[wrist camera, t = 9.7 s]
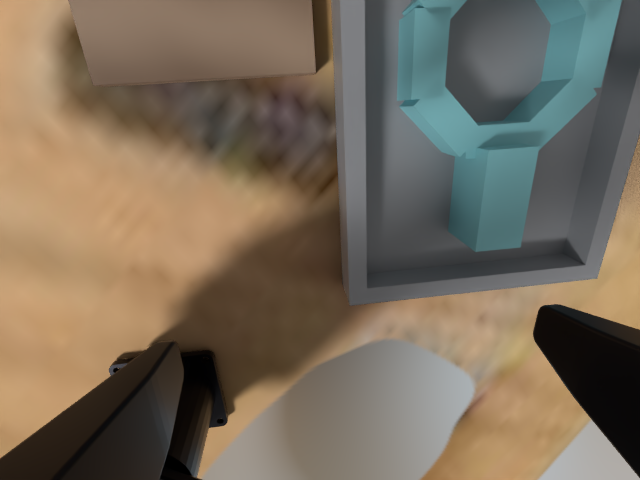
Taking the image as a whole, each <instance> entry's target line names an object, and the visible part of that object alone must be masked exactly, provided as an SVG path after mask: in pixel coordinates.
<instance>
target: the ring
mask: <svg viewBox="0 0 640 480" xmlns="http://www.w3.org/2000/svg"><path fill="white" fill-rule="evenodd" d="M466 1H467V0H412V1H411V3H410V4H409V5H408V6H407V7H406V9H405V10H404V11H403V12H402V14H403V15H404V17H403V18H402V19H400V20H399V43H398V81H397V101H401V100H404V102H403V103H402V104H401V105H400V106H399V107H400V108H401V109H402V110H403V111H404V112H405V114H406V115H407V116H408V117H409V118H410V119H411V120H412V121H413V122H414V123H415V124H416V125H417V126H418V128H419V129H420V130H421V131H422V132H423V133H424V134H425V135H426V136H427V137H428V138H429V139H430V140H431V141H432V143H433V144H434V145H435V146H436V147H437V148H438V149H439V150H440V151H441V152H443V153H446V154H448V155H452V156H455V162H454V173H453V184H452V194H451V205H450V216H449V226H448V232H449V233H451V234H452V235H453V236H455V237H456V238H457V239H459V240H460V241H461V242H463V243H464V244H466V245H467V246H468V247H470V248H471V249H472V250H474V251H475V252H480V251H490V250H500V249H510V248H520V247H521V242H522V237H523V232H524V226H525V221H526V216H527V210H528V205H529V200H530V194H531V189H532V183H533V178H534V173H535V167H536V162H537V157H538V151H539V150H540V149H541V148H542V147H543V146H544V145H545V144H546V143H547V142H548V141H549V140H550V139H551V138H552V137H553V136H554V135H555V134H557V133H558V132H559V131H560V130H561V129H562V128H563V127H564V126H565V125H566V124H567V123H568V122H569V121H570V120H571V119H572V118H573V117H574V116H575V115H576V114H577V113H578V112H579V111H580V110H581V109H582V108H583V107H584V106H585V105H586V104H588V103H589V102H590V101H591V100H592V99H593V98H594V97H595V96H596V95H597V93H596V92H595V90H594V89H593V88H600V87H601V85H602V81H603V77H604V73H605V69H606V65H607V60H608V56H609V52H610V48H611V44H612V40H613V35H614V31H615V27H616V23H617V19H618V15H619V10H620V6H621V2H622V0H535V1H536V3H537V4H538V6H539V7H540V9H541V10H542V12H543V13H544V15H545V16H546V18H547V19H548V21H549V22H550V24H551V27H550V33H549V38H548V44H547V50H546V55H545V61H544V67H543V73H542V78H541V82H540V83H539V84H538V85H537V86H536V87H535V88H534V89H533V90H532V91H531V92H530V93H529V94H528V95H527V96H526V97H525V98H524V100H523V101H522V102H521V103H520V104H519V105H518V106H517V107H516V108H515V109H514V110H513V111H512V112H511V113H510V114H509V115H508V116H507V117H506V118H505V119H504V120H503V121H491V122H477V123H476V122H475V121H474V120H473V119H472V118H471V116H470V115H469V114H468V113H467V112H466V111H465V109H464V108H463V107H462V106H461V105H460V103H459V102H458V101H457V100H456V99H455V98H454V96H453V95H452V94H451V93H450V92H449V90H448V89H447V88H446V87H445V79H446V66H447V53H448V40H449V27H450V19H451V18H452V17H453V16H454V15H455V13H456V12H457V11H458V10H459V9H460V8H461V6H462V5H463V4H464V3H465V2H466Z"/></svg>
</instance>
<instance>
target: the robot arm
mask: <svg viewBox="0 0 640 480" xmlns="http://www.w3.org/2000/svg"><path fill="white" fill-rule="evenodd" d="M533 337H534V340H535V342H536V344H537V345H538V347H539V348H540V350H541V351H542V352H543V354H544V355H545V357H546V358H547V360H548V361H549V363H550V364H551V365H552V367H553V368H554V370H555V371H556V373H557V374H558V376H559V377H560V379H561V380H562V381H563V383H564V384H565V386H566V387H567V389H568V390H569V391H570V393H571V394H572V395H573V397H574V398H575V399H576V401H577V402H578V403H579V404H580V406H581V407H582V408H583V409H584V411H585V412H586V413H587V414H588V416H589V417H590V418H591V419H592V420H593V422H594V423H595V424H596V425H597V426H598V428H599V429H600V430H601V431H602V433H603V434H604V435H605V436H606V437H607V439H608V440H609V441H610V442H611V443H612V445H613V446H614V447H615V448H616V450H617V451H618V452H619V453H620V454H621V456H622V457H623V458H624V459H625V461H626V462H627V463H628V464H629V465H630V467H631V468H632V469H633V470H634V472H635V473H636V474H637V475H638V476H639V478H640V330H639V329H635V328H632V327H629V326H626V325H623V324H620V323H616V322H613V321H610V320H607V319H604V318H601V317H597V316H594V315H591V314H588V313H585V312H582V311H578V310H575V309H572V308H569V307H566V306H563V305H558V304H554V305H544V306H542V307H541V308H540V309H539V311H538V314H537V318H536V322H535V327H534V331H533ZM204 357H207V358H208V359H204ZM118 368H120V369H118ZM109 372H110V375H111V376H110V377H109V378H108V379H106V380H105V381H104V382H102V383H101V384H100V385H98V386H97V387H96V388H94V389H93V390H91V391H90V392H89V393H87V394H86V395H85V396H83V397H82V398H81V399H79V400H78V401H77V402H75V403H74V404H73V405H71V406H70V407H69V408H67V409H66V410H65V411H63V412H62V413H61V414H59V415H58V416H57V417H55V418H54V419H53V420H51V421H50V422H48V423H47V424H46V425H44V426H43V427H42V428H40V429H39V430H38V431H36V432H35V433H34V434H32V435H31V436H30V437H28V438H27V439H26V440H24V441H23V442H22V443H20V444H19V445H18V446H16V447H15V448H14V449H12V450H11V451H10V452H8V453H7V454H5V455H4V456H3V457H1V458H0V480H202V479H199V478H197V475H198V471H199V467H200V463H201V458H202V454H203V450H204V446H205V441H206V437H207V433H208V429H209V428H211V427H219V426H224V425H225V424H226V423H227V421H228V412H227V408H226V404H225V399H224V395H223V391H222V386H221V382H220V378H219V373H218V369H217V365H216V360H215V356H214V354H213V352H211V351H209V350H202V351H193V352H185V353H180V351H179V346H178V344H177V342H176V341H174V340H170V341H160V342H156V343H155V344H153V345H152V346H151V347H149V348H148V349H147V350H145V351H144V352H142V353H141V354H140V355H138V356H137V357H136V358H133V359H124V360H117V361H114V362H113V363H112V365H111V366H110V368H109Z"/></svg>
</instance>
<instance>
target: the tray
mask: <svg viewBox="0 0 640 480" xmlns="http://www.w3.org/2000/svg"><path fill="white" fill-rule="evenodd" d="M411 1H412V0H331V10H332V35H333V60H334V85H335V110H336V135H337V160H338V185H339V210H340V235H341V260H342V284H343V287H344V290H345V293H346V296H347V299H348V302H349V305H350V306H351V305H360V304H370V303H379V302H388V301H397V300H406V299H415V298H424V297H433V296H443V295H452V294H461V293H470V292H479V291H488V290H497V289H506V288H516V287H525V286H534V285H543V284H552V283H561V282H570V281H579V280H588V279H597V277H598V274H599V270H600V267H601V264H602V260H603V257H604V253H605V250H606V246H607V243H608V240H609V236H610V233H611V229H612V226H613V223H614V219H615V216H616V212H617V209H618V206H619V202H620V199H621V195H622V192H623V189H624V185H625V182H626V178H627V175H628V172H629V168H630V165H631V161H632V158H633V155H634V151H635V148H636V144H637V141H638V138H639V134H640V0H622V2H621V6H620V10H619V15H618V19H617V23H616V27H615V31H614V35H613V40H612V44H611V48H610V52H609V56H608V60H607V65H606V69H605V73H604V77H603V81H602V85H601V87H600V88H593V89H594V90H595V92H596V93H597V95H596V96H595V97H594V98H593V99H592V100H591V101H590V102H589V103H588V104H586V105H585V106H584V107H583V108H582V109H581V110H580V111H579V112H578V113H577V114H576V115H575V116H574V117H573V118H572V119H571V120H570V121H569V122H568V123H567V124H566V125H565V126H564V127H563V128H562V129H561V130H560V131H559V132H558V133H557V134H555V135H554V136H553V137H552V138H551V139H550V140H549V141H548V142H547V143H546V144H545V145H544V146H543V147H542V148H541V149H540V150H539V151H538V157H537V162H536V167H535V173H534V178H533V183H532V189H531V194H530V200H529V205H528V210H527V216H526V221H525V226H524V232H523V237H522V242H521V247H520V248H510V249H500V250H490V251H480V252H475V251H474V250H472V249H471V248H470V247H468V246H467V245H466V244H464V243H463V242H461V241H460V240H459V239H457V238H456V237H455V236H453V235H452V234H451V233H449V232H448V226H449V216H450V205H451V194H452V184H453V173H454V162H455V156H452V155H448V154H446V153H443V152H441V151H440V150H439V149H438V148H437V147H436V146H435V145H434V144H433V143H432V141H431V140H430V139H429V138H428V137H427V136H426V135H425V134H424V133H423V132H422V131H421V130H420V129H419V128H418V126H417V125H416V124H415V123H414V122H413V121H412V120H411V119H410V118H409V117H408V116H407V115H406V114H405V112H404V111H403V110H402V109H401V108H400V107H399V106H400V105H401V104H402V103H403V102H404V100H401V101H397V81H398V43H399V20H400V19H402V18H403V17H404V15H403V14H402V12H403V11H404V10H405V9H406V7H407V6H408V5H409V4H410V3H411ZM550 27H551V24H550V22H549V21H548V19H547V18H546V16H545V15H544V13H543V12H542V10H541V9H540V7H539V6H538V4H537V3H536V1H535V0H467V1H466V2H465V3H464V4H463V5H462V6H461V8H460V9H459V10H458V11H457V12H456V13H455V15H454V16H453V17H452V18H451V19H450V27H449V40H448V53H447V66H446V79H445V87H446V88H447V89H448V90H449V92H450V93H451V94H452V95H453V96H454V98H455V99H456V100H457V101H458V102H459V103H460V105H461V106H462V107H463V108H464V109H465V111H466V112H467V113H468V114H469V115H470V116H471V118H472V119H473V120H474V121H475V122H476V123H477V122H491V121H503V120H504V119H505V118H506V117H507V116H508V115H509V114H510V113H511V112H512V111H513V110H514V109H515V108H516V107H517V106H518V105H519V104H520V103H521V102H522V101H523V100H524V98H525V97H526V96H527V95H528V94H529V93H530V92H531V91H532V90H533V89H534V88H535V87H536V86H537V85H538V84H539V83H540V82H541V78H542V73H543V67H544V61H545V55H546V50H547V44H548V38H549V33H550Z"/></svg>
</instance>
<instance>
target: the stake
mask: <svg viewBox="0 0 640 480" xmlns="http://www.w3.org/2000/svg"><path fill="white" fill-rule="evenodd" d="M68 1H69V4H70V8H71V11H72V15H73V18H74V22H75V25H76V28H77V32H78V35H79V39H80V42H81V45H82V49H83V52H84V56H85V59H86V63H87V66H88V69H89V73H90V76H91V80H92V83H93V86H101V87H112V86H129V85H146V84H163V83H180V82H197V81H214V80H231V79H248V78H265V77H282V76H299V75H314V74H315V73H316V66H315V49H314V32H313V15H312V0H68Z"/></svg>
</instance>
